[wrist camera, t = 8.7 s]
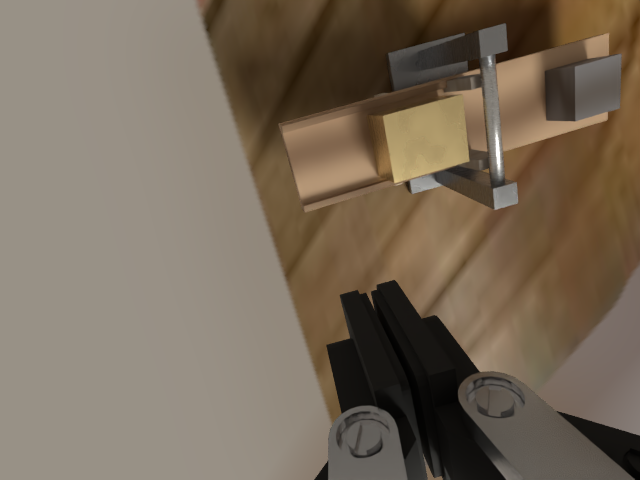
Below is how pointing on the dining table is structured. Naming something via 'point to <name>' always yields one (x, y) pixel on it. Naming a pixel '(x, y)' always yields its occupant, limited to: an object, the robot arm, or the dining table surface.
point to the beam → (515, 115)
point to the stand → (452, 60)
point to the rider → (419, 137)
